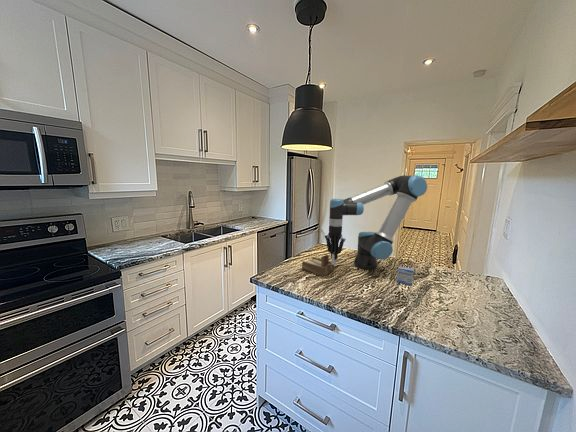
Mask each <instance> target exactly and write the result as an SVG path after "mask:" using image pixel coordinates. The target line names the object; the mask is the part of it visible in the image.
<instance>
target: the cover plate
mask: <svg viewBox="0 0 576 432" xmlns="http://www.w3.org/2000/svg"><path fill="white" fill-rule="evenodd" d="M329 257H330V255H329V254H324V255H323V256H321V259H322V261H319V260H315V259H313V260H312V259H311V260H308V261H307V262H308V263H311V264H314V265H317V266H321V267H325V266H327V265H329V263H328V261H329ZM329 262H330V261H329Z"/></svg>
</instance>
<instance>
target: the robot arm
mask: <svg viewBox="0 0 576 432" xmlns="http://www.w3.org/2000/svg"><path fill="white" fill-rule="evenodd" d="M427 189H428V183H427V180H426V179H425V178H424V177H423V176H420V175H416V174H415V175H413V174H412V175H408V174H407V175H404V174H403V175H399V176H395V177H394V178H391V179H388V180H387V181H384V183H383V184H381V185H377V186H375V187H373V188H371V189H368V190H366V191H365V190H364V191H363V192H360V193H358V194H355V195H353V196H350V197H346V198H345V199H343V198H331V199H330V202H329V220H328V222H329V223H328V234H326V235H324V238H325V242H326V248H327V252H329V253H330V259H331V261H330V262H331V264H332V265H334V266H335V265H337V260H338V255H339V254H341V252H342V249H343V246H344V243H345V241H346V240H347V239H346V238H345V237H343V234H342V232H343V217H344V216H361V215H363V213H364V209H365V207H364V205H367V204H369V203H371V202H374V201H376V200H379V199H382V198H384V197H386V196H393V195H394V196H395V195H396V199H395V200H394V202H393V204H392V206H391V208H390V210H389V212H388V214H386V215H387V216H386V217H385V220H384V221H383V223H382V224H381V226H380V228H379V230H378V231H376V232H374V231H360V232H359V233H358V237H357V238H358V239H357V251H356V252H357V253H356V255H355V258H354V260H353V265H354V267H356V268H358V269H361V270H362V269H363V270H368V271H369V270H375V269H377V268H378V266H379V265H378V264H379V263H378V260H382V261H383V260H386V259H388V258H389V257H390V256H391V255H392V254H393V251H394V249H393V243H394V239H393V238H394V236H395V234H396V232H397V231H398V228H399V226H400V224H401V223H402V222H403V219H404V217H405V216H406V214H407V212H408V211H409V209H410V207H411V205H412V204H413V203H414V202H417V200H418V198H419V197H421V196H424V195H425V194H426V192H427Z"/></svg>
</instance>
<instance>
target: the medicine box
mask: <svg viewBox="0 0 576 432" xmlns="http://www.w3.org/2000/svg"><path fill="white" fill-rule="evenodd" d="M397 268H398V269H397V275H396V276H397V277H396V283H397V284H402V285H408V286H413V279H414V271H415V270H414V268H412V267H405V266H399V265H398V267H397Z"/></svg>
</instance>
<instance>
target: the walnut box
mask: <svg viewBox="0 0 576 432" xmlns="http://www.w3.org/2000/svg"><path fill="white" fill-rule="evenodd" d="M313 259H315V260H319V261H322V258H319V257H318V258H317V257H315V256H313V257H312V259H311V260H313ZM301 262H302V263H301V270H302V271H303V272H307V273H309V272H310V274H312V275H314V276H319V277H321V278H325V277H326V276H329V275H330V274H332V273H334V272H335V265H332V264H331V262H332V261H328V263H329V265H327V266H325V267H321V266H317V265H314V264H311V263H308V261H305V260H303V261H301Z"/></svg>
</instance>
